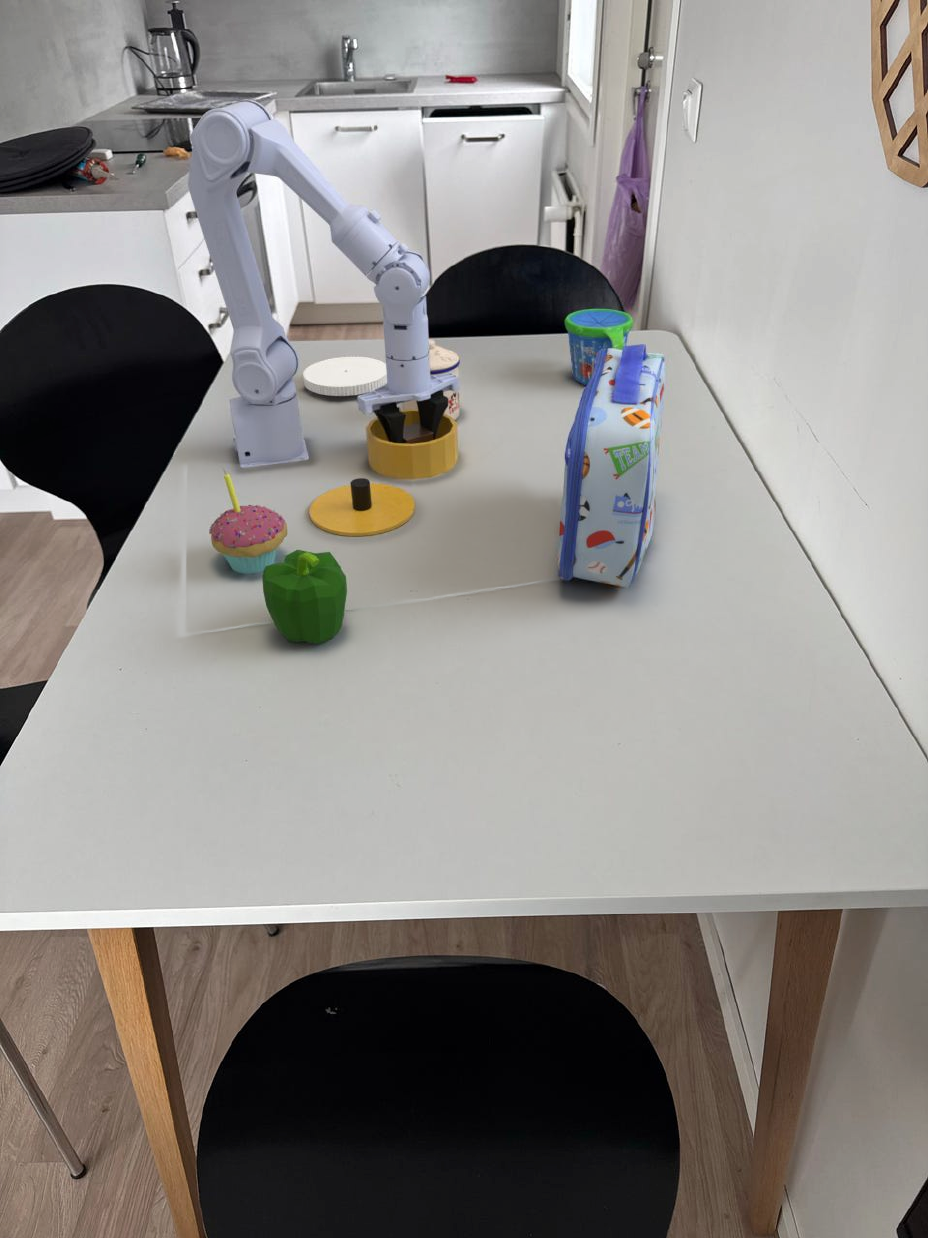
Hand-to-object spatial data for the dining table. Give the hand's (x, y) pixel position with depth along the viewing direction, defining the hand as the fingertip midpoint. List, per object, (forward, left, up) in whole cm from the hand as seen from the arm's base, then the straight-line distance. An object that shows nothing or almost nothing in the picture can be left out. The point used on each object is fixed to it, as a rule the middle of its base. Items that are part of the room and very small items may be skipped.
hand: (412, 450), depth 130 cm
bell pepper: (-18, -37, -2) cm, 41 cm away
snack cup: (+35, +23, -2) cm, 42 cm away
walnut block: (0, 0, -1) cm, 1 cm away
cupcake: (-23, -22, -2) cm, 32 cm away
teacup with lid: (+6, +17, -2) cm, 18 cm away
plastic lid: (-5, +32, -2) cm, 32 cm away
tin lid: (-9, -13, -1) cm, 16 cm away
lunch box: (+18, -28, -2) cm, 33 cm away
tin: (0, 0, -2) cm, 2 cm away
